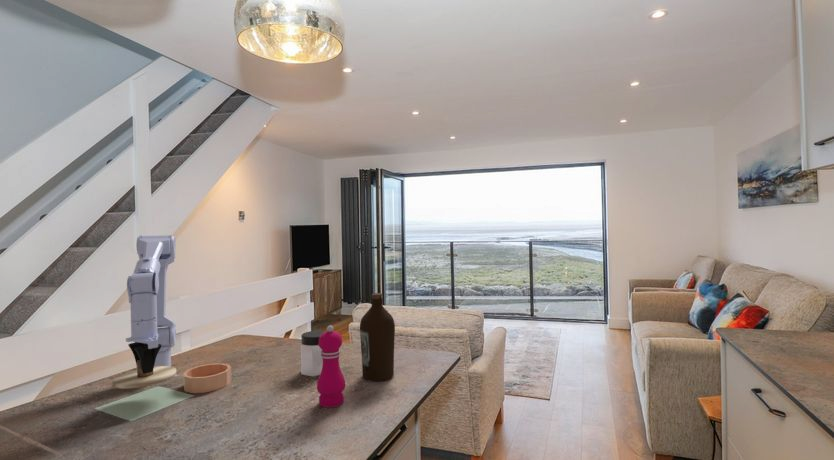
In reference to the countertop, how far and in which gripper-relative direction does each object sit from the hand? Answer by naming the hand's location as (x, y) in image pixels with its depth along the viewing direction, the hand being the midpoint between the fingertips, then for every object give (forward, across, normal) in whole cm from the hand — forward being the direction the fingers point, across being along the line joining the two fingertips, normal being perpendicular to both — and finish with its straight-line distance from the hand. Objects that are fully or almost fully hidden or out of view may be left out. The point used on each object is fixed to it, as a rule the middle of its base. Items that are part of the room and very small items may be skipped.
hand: (145, 370), depth 108 cm
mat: (+9, 0, 0) cm, 9 cm away
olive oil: (+9, +33, +52) cm, 62 cm away
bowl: (+9, 0, +16) cm, 18 cm away
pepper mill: (+9, +37, +32) cm, 50 cm away
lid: (+2, 0, 0) cm, 2 cm away
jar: (+9, +15, +42) cm, 46 cm away
